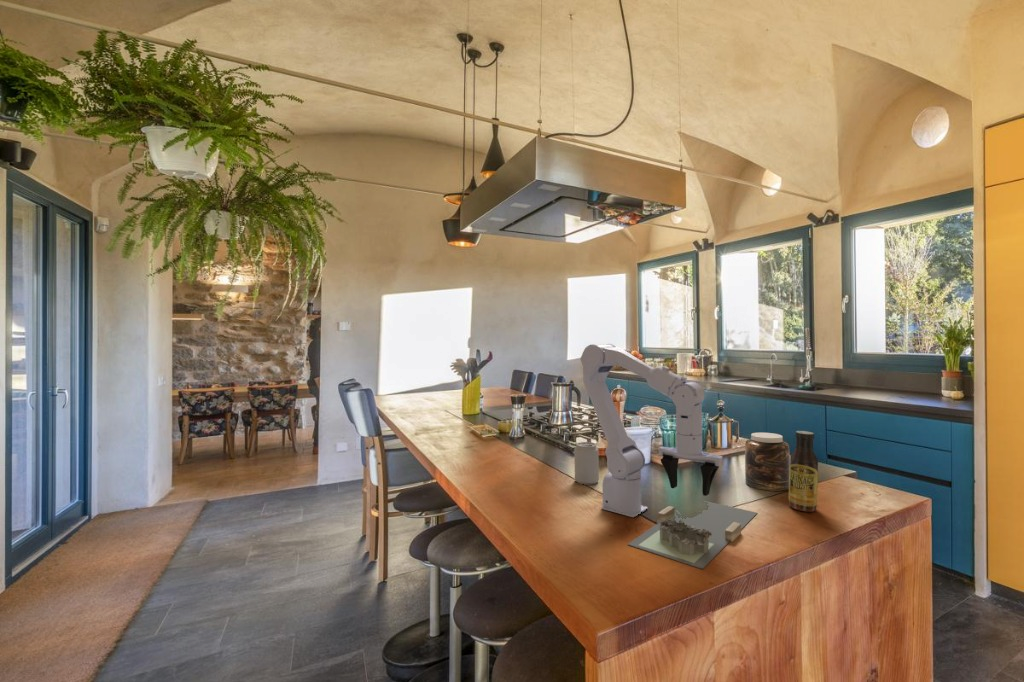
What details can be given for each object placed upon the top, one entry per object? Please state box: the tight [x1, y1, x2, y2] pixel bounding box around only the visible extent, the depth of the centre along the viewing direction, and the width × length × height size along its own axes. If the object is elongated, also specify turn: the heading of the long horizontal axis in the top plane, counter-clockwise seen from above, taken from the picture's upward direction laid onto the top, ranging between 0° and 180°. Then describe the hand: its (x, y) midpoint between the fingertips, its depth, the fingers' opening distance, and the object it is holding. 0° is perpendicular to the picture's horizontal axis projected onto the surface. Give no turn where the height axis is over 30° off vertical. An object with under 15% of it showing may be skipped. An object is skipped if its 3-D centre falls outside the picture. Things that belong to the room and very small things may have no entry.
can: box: [573, 441, 600, 486], centre depth 143 cm, size 8×8×12 cm
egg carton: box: [656, 519, 712, 555], centre depth 99 cm, size 11×8×4 cm
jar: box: [744, 432, 791, 492], centre depth 137 cm, size 12×12×15 cm
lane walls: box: [657, 505, 742, 543], centre depth 107 cm, size 17×6×2 cm, turn 47°
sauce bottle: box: [788, 430, 819, 513], centre depth 118 cm, size 7×6×20 cm
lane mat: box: [627, 500, 758, 570], centre depth 107 cm, size 16×37×1 cm, turn 137°
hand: (689, 490), depth 108 cm, fingers open, 7 cm apart
